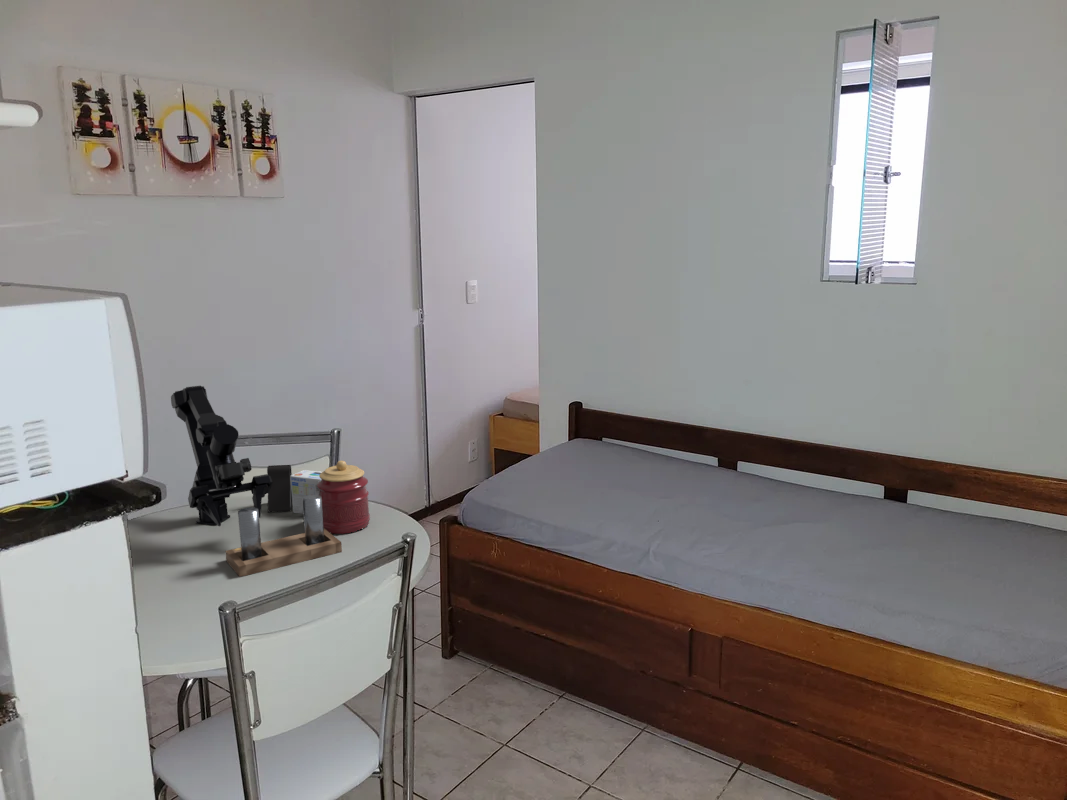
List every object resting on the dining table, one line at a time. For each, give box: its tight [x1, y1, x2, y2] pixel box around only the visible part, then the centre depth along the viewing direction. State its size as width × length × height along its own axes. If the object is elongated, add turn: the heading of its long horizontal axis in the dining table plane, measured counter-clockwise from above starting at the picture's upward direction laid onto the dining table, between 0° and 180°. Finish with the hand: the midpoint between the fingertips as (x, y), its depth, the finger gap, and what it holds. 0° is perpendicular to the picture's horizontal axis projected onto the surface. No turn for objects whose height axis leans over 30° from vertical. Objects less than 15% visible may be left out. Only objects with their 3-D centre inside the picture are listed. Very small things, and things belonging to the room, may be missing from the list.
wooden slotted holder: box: [225, 529, 343, 578], centre depth 188 cm, size 24×11×3 cm, turn 126°
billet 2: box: [303, 495, 324, 546], centre depth 191 cm, size 4×4×13 cm
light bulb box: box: [290, 469, 323, 515], centre depth 217 cm, size 11×7×11 cm, turn 71°
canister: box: [317, 460, 371, 535], centre depth 206 cm, size 13×13×18 cm
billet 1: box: [237, 506, 262, 561], centre depth 183 cm, size 4×4×13 cm
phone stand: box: [266, 464, 293, 513], centre depth 221 cm, size 9×6×12 cm, turn 7°
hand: (239, 521), depth 189 cm, fingers open, 9 cm apart
